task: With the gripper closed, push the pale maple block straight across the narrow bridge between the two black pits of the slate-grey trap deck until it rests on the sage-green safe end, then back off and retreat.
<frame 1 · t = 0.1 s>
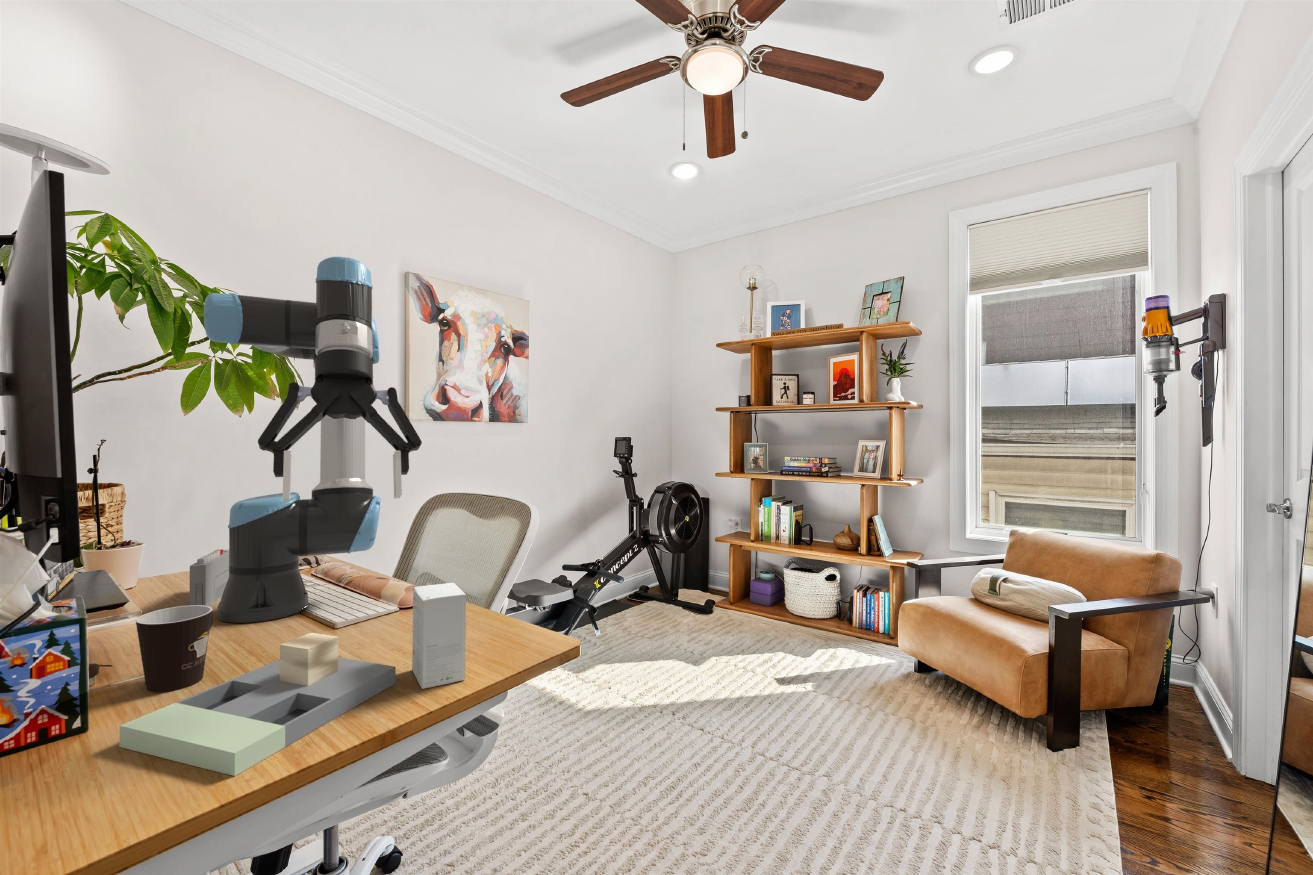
hand: (344, 498, 81), 28 cm above the table, tool tilted 20°, fingers open, 13 cm apart
maple block: (309, 675, 82), point 2 cm above the table, touching trap deck
small box: (438, 676, 89), on the table
trap deck: (273, 711, 77), on the table
coffee mug: (186, 679, 86), on the table
cassette player: (214, 599, 125), on the table
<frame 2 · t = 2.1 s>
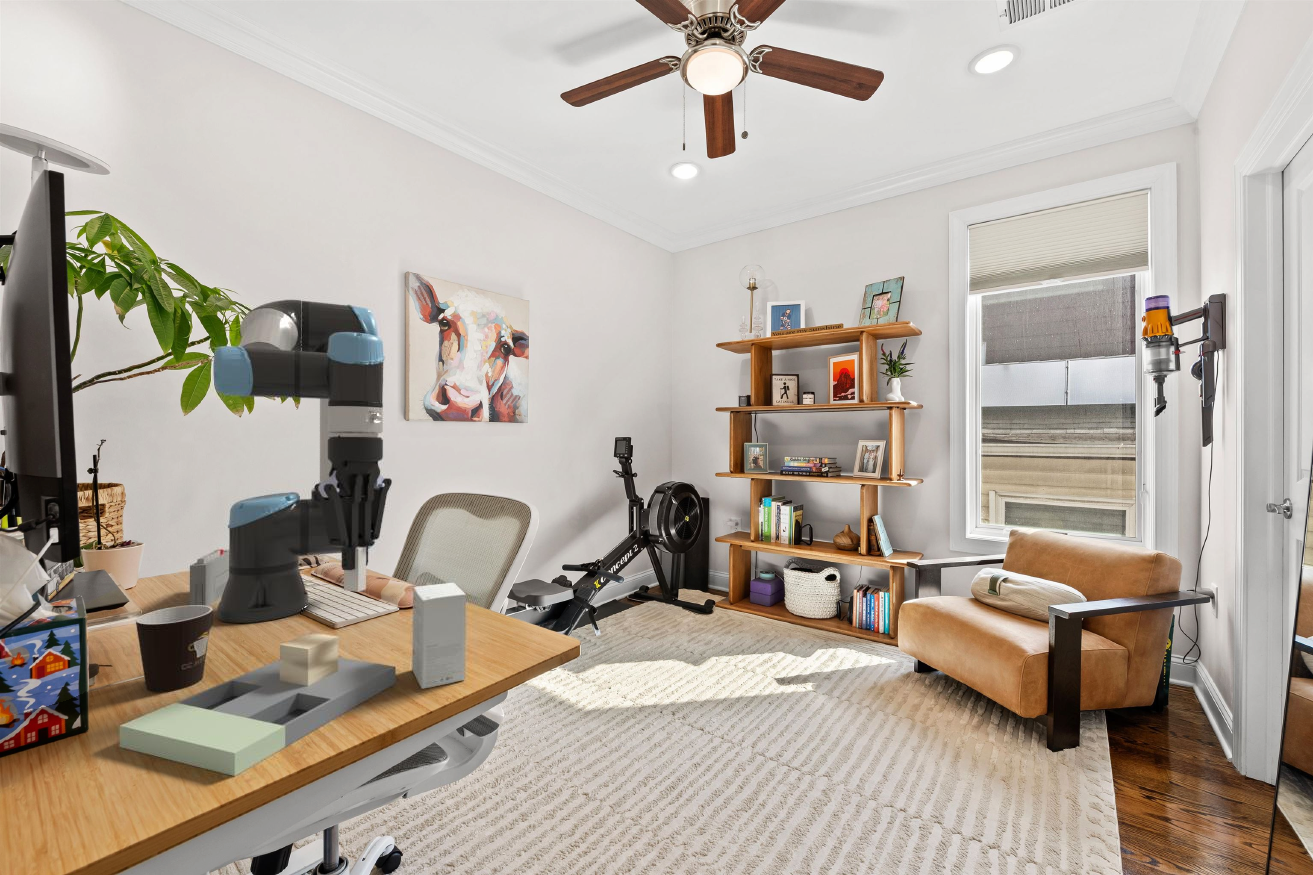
hand: (354, 589, 89), 13 cm above the table, tool pointing down, fingers closed
nothing on the table moved.
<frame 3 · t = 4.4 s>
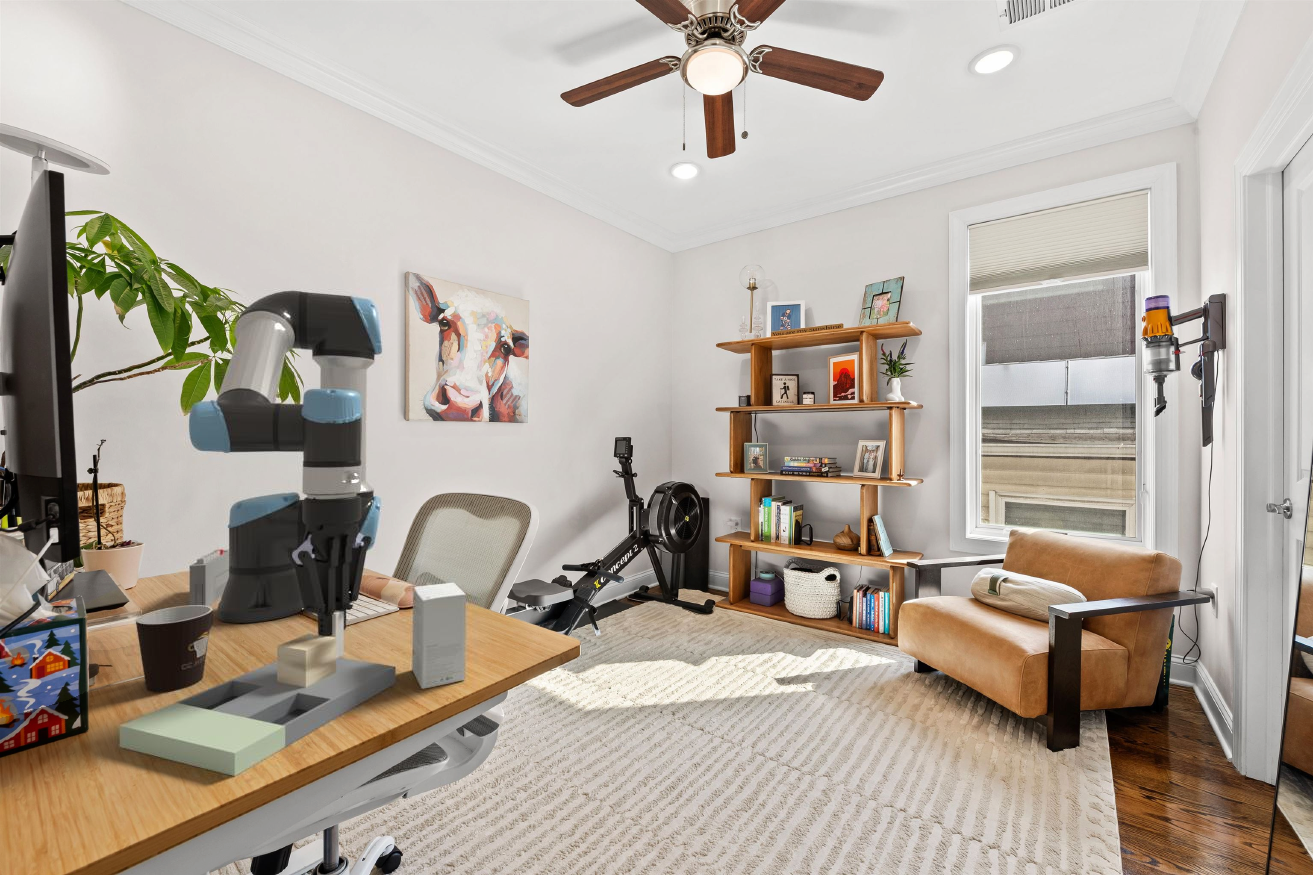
hand: (332, 655, 86), 4 cm above the table, tool pointing down, fingers closed
maple block: (307, 677, 82), point 2 cm above the table, touching gripper, trap deck
everything else where it was.
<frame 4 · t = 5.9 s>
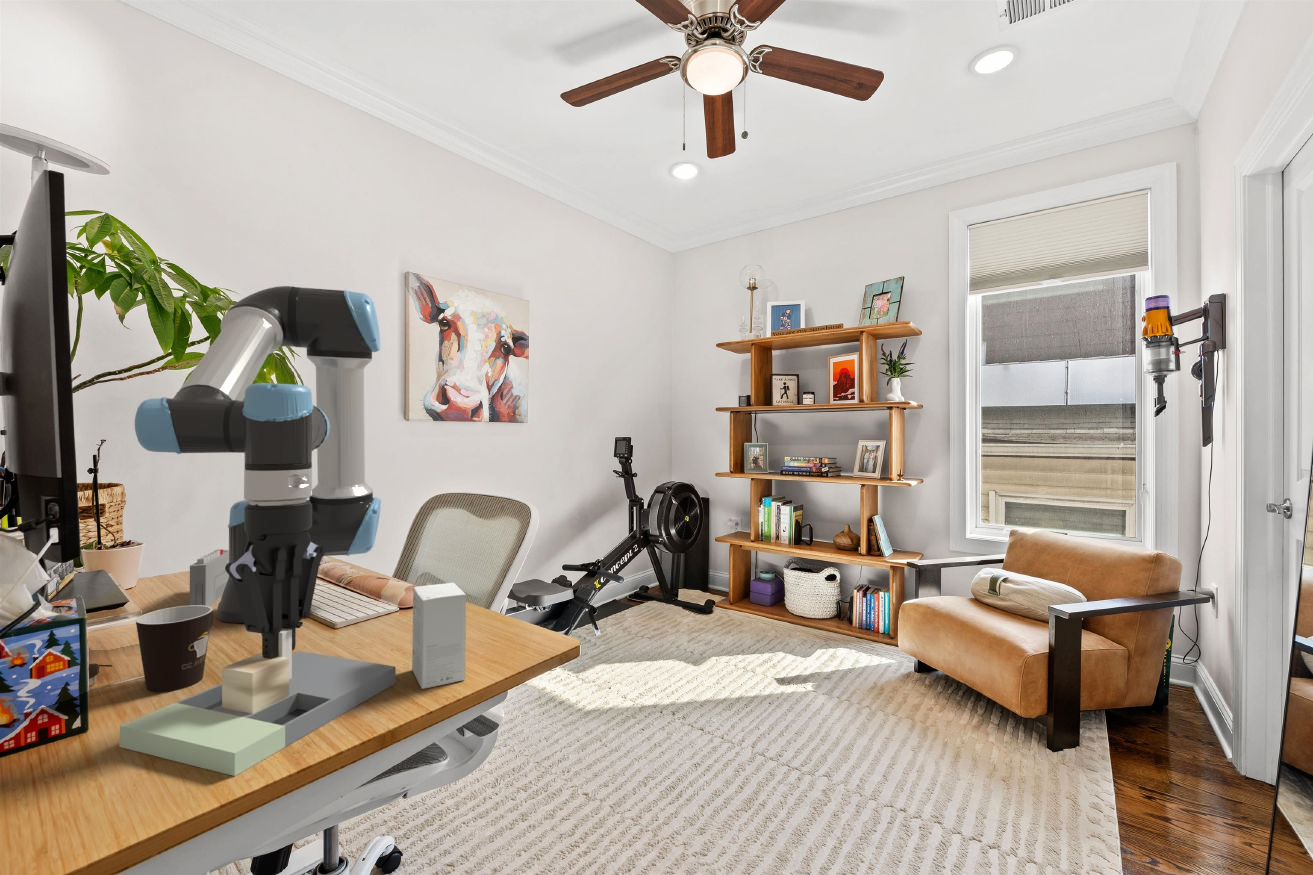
hand: (279, 678, 77), 4 cm above the table, tool pointing down, fingers closed
maple block: (256, 701, 74), point 2 cm above the table, touching gripper, trap deck
everything else where it was.
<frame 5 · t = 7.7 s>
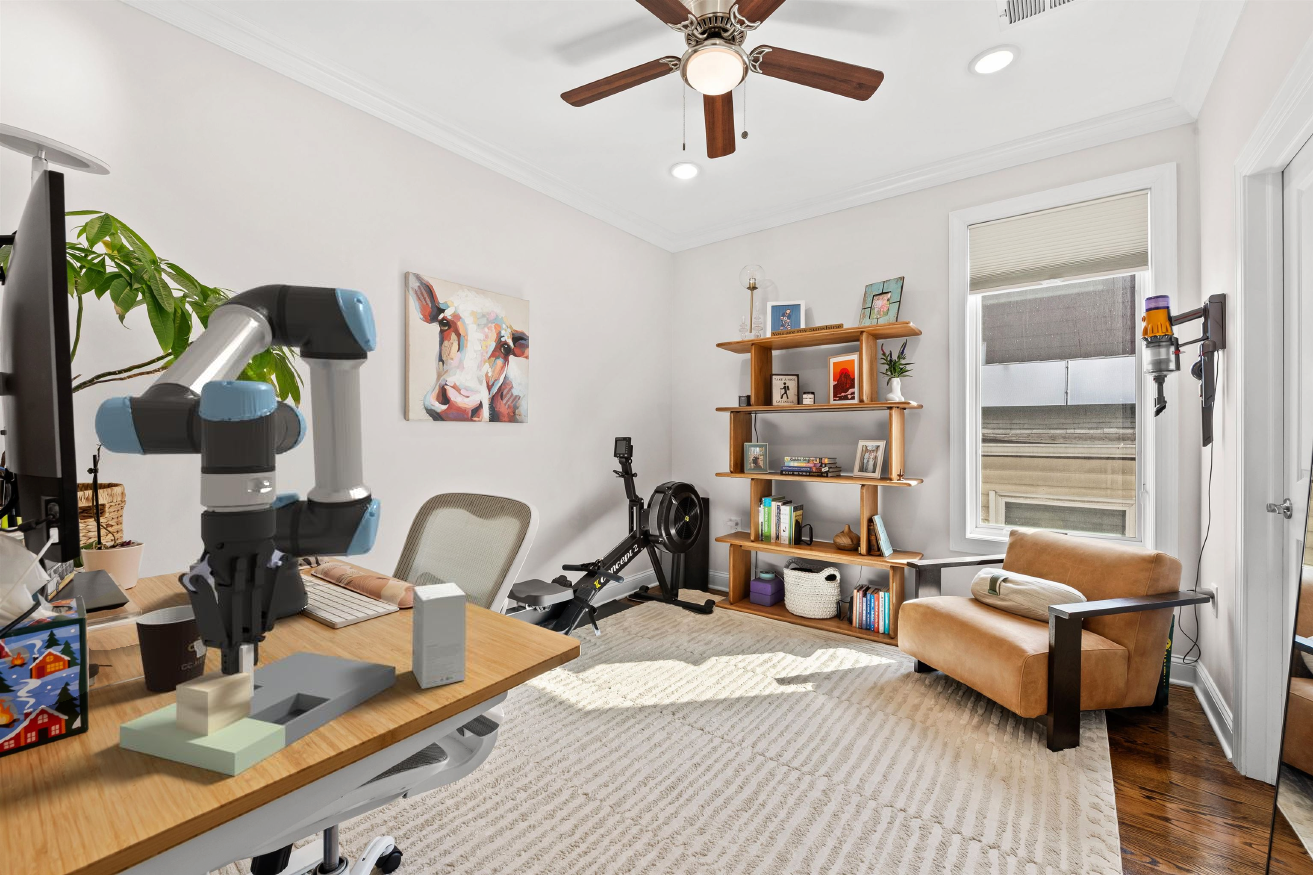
hand: (240, 696, 72), 4 cm above the table, tool pointing down, fingers closed
maple block: (214, 721, 69), point 3 cm above the table, touching gripper, trap deck
everything else where it was.
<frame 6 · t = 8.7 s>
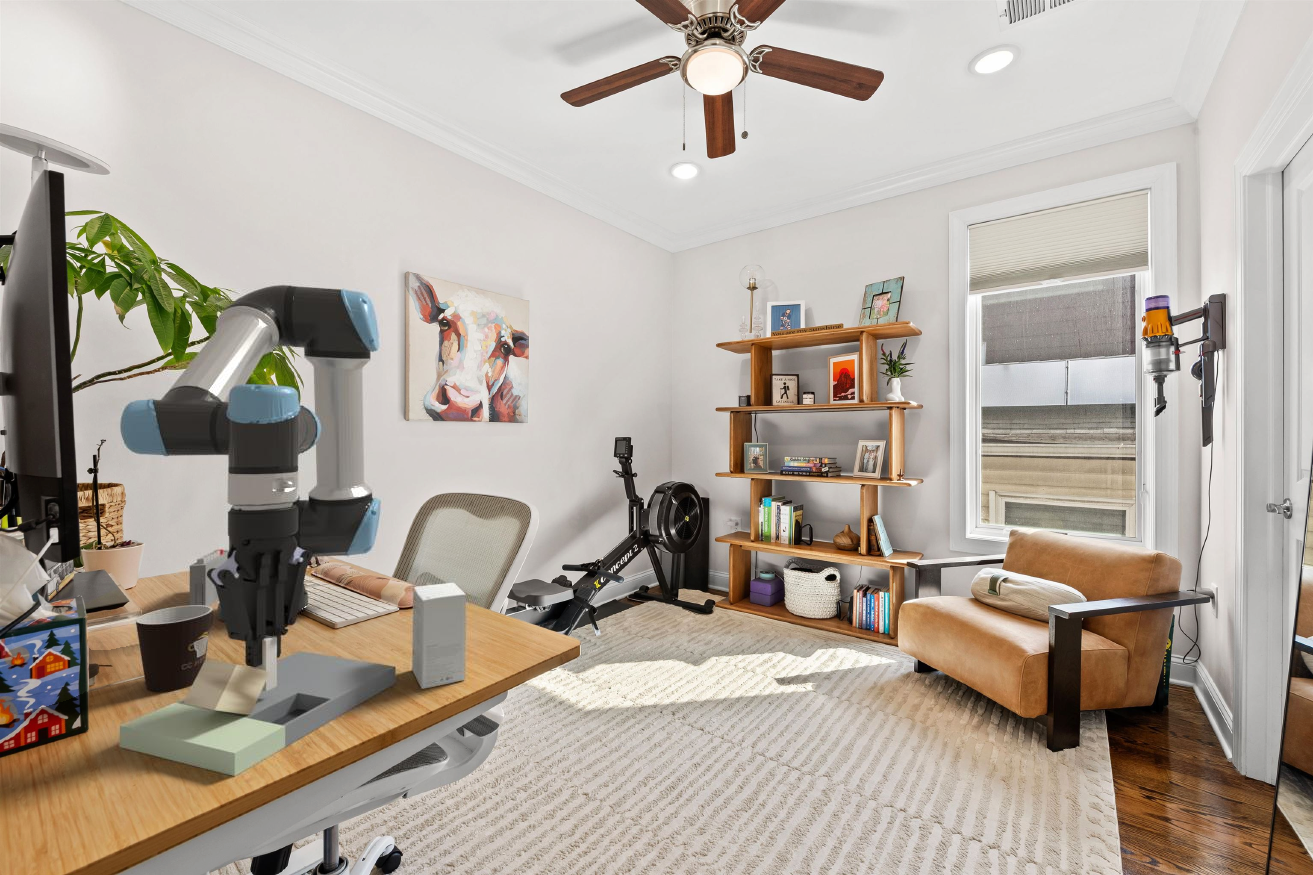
hand: (263, 687, 75), 4 cm above the table, tool pointing down, fingers closed
maple block: (217, 709, 70), point 4 cm above the table, tilted 31°, touching trap deck
everything else where it was.
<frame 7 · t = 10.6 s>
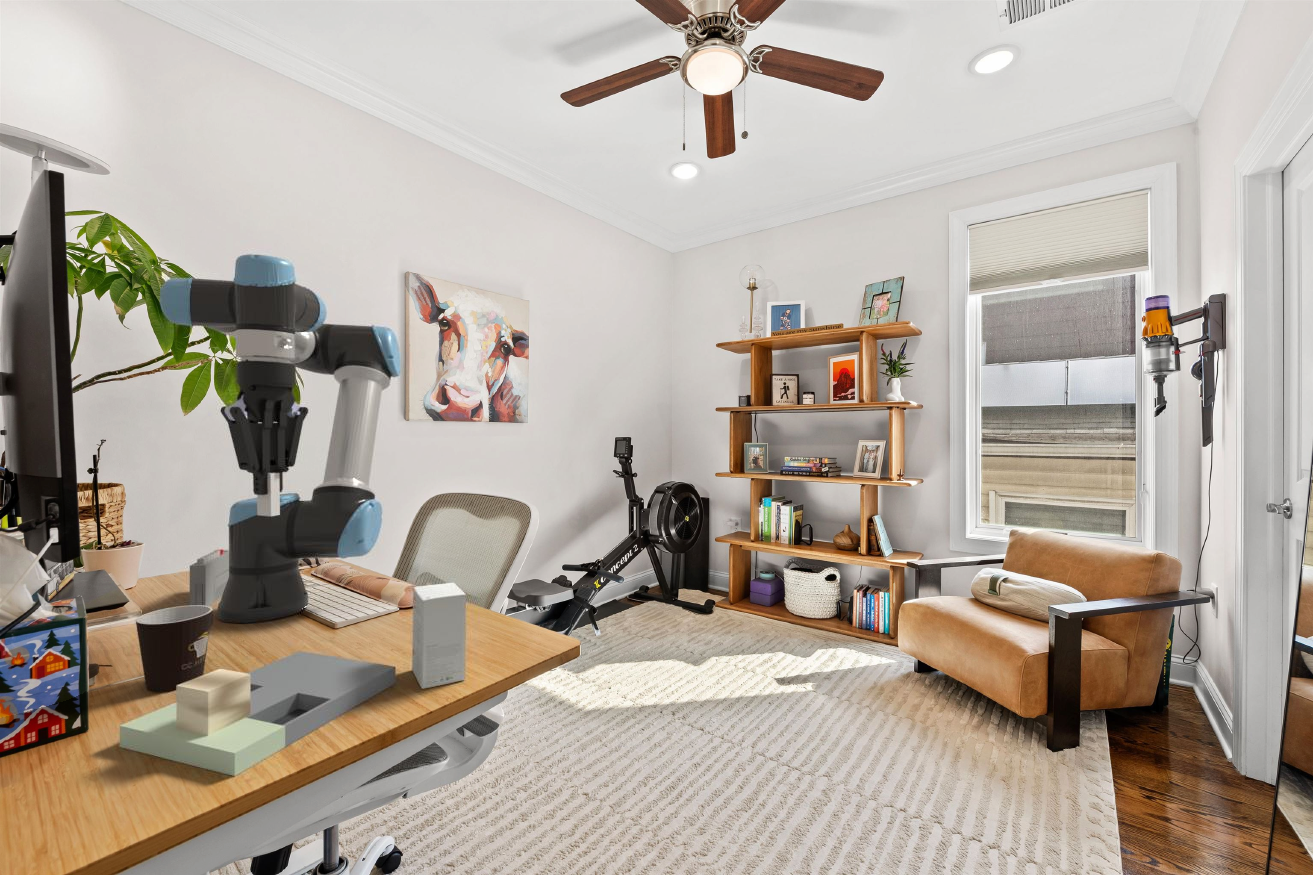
hand: (268, 514, 90), 24 cm above the table, tool pointing down, fingers closed
maple block: (214, 721, 69), point 2 cm above the table, touching trap deck
everything else where it was.
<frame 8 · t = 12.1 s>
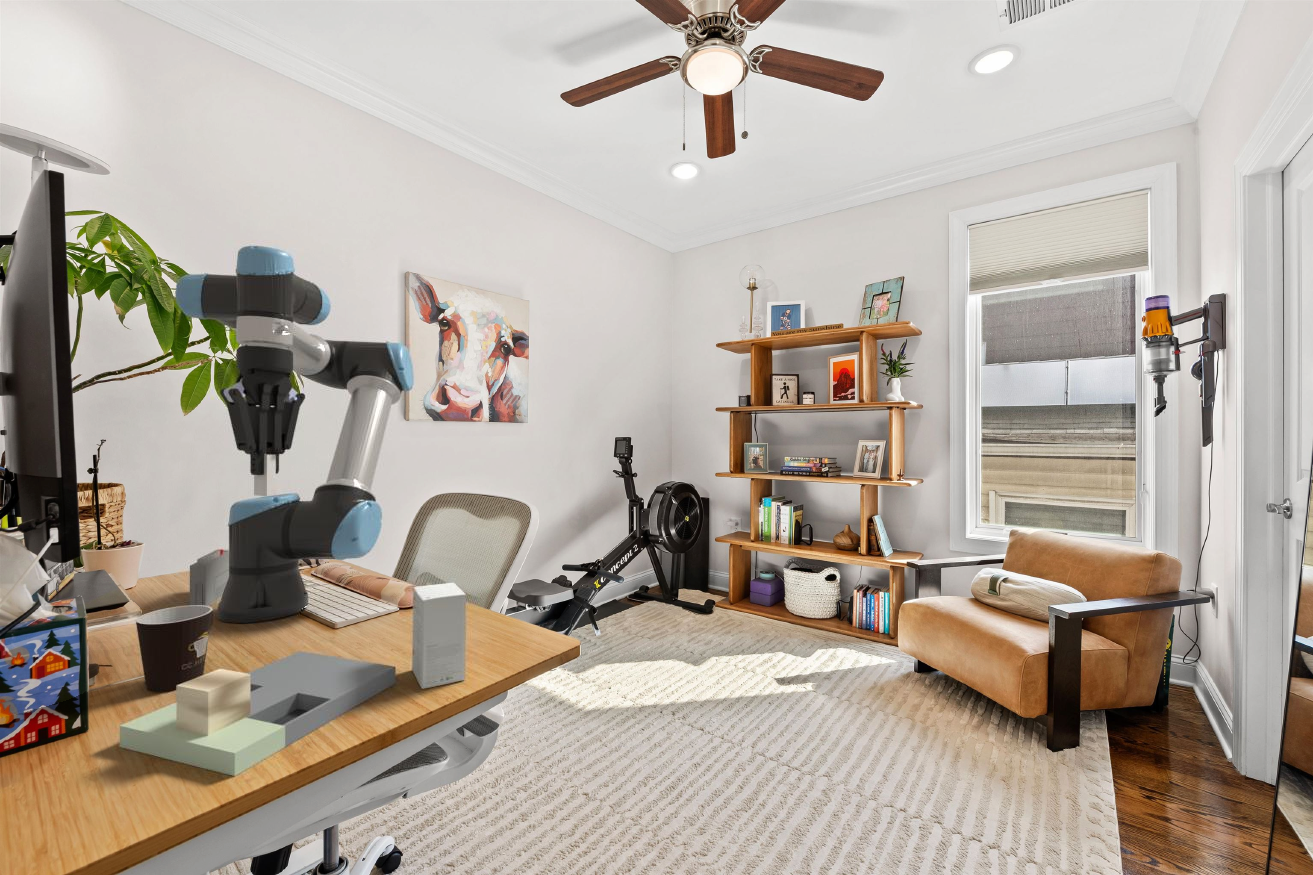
hand: (264, 495, 93), 26 cm above the table, tool pointing down, fingers closed
nothing on the table moved.
at the end: maple block inside the target area (0.9 cm from its centre), point 2.5 cm above the table; maple block tilted 0° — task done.
